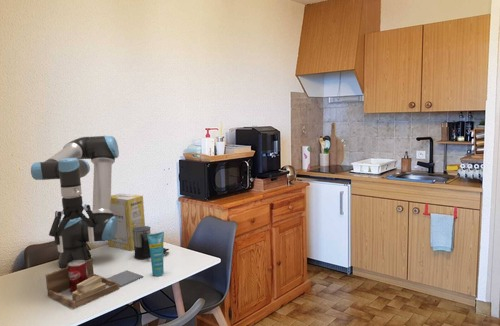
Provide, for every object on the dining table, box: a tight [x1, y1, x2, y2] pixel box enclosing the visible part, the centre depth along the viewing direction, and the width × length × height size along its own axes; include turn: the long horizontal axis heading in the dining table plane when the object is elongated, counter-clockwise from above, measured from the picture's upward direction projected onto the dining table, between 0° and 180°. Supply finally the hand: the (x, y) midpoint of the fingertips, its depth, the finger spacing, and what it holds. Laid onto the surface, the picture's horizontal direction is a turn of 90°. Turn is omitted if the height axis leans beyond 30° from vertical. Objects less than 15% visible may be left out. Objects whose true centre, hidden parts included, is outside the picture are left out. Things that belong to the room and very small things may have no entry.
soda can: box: [67, 260, 88, 294], centre depth 163 cm, size 7×7×12 cm
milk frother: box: [132, 225, 170, 260], centre depth 201 cm, size 14×16×15 cm
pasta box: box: [108, 193, 146, 252], centre depth 217 cm, size 18×10×28 cm, turn 60°
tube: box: [147, 231, 165, 277], centre depth 177 cm, size 7×5×19 cm, turn 123°
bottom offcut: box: [71, 283, 107, 301], centre depth 159 cm, size 5×12×4 cm, turn 146°
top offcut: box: [77, 275, 102, 293], centre depth 159 cm, size 4×9×3 cm, turn 157°
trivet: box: [106, 270, 144, 288], centre depth 174 cm, size 12×12×1 cm
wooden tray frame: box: [45, 259, 121, 310], centre depth 162 cm, size 20×20×9 cm
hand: (76, 246), depth 162 cm, fingers open, 13 cm apart
